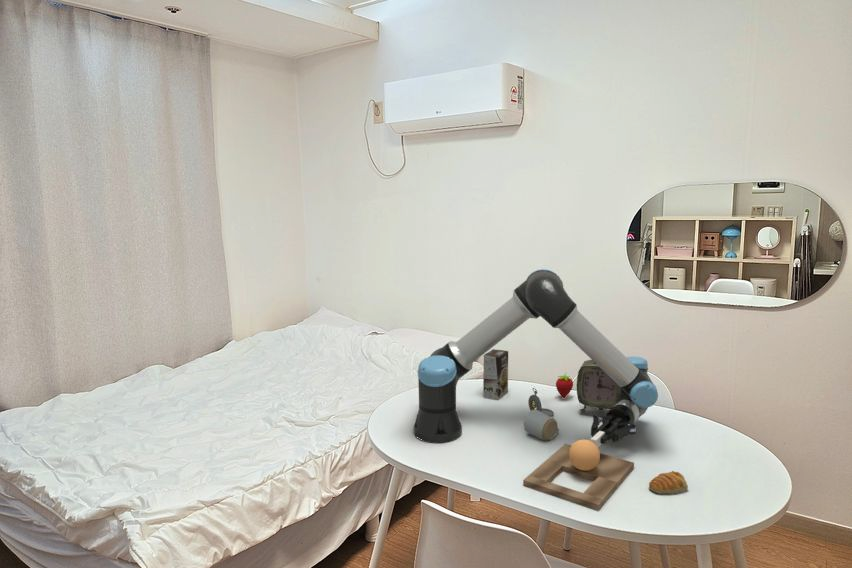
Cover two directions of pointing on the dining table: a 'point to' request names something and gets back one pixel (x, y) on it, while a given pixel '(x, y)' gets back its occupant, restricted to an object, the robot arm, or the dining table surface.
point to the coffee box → (495, 374)
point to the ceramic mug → (540, 425)
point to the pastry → (668, 483)
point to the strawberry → (564, 385)
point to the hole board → (603, 474)
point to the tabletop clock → (596, 387)
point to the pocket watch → (538, 405)
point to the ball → (584, 455)
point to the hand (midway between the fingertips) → (593, 444)
